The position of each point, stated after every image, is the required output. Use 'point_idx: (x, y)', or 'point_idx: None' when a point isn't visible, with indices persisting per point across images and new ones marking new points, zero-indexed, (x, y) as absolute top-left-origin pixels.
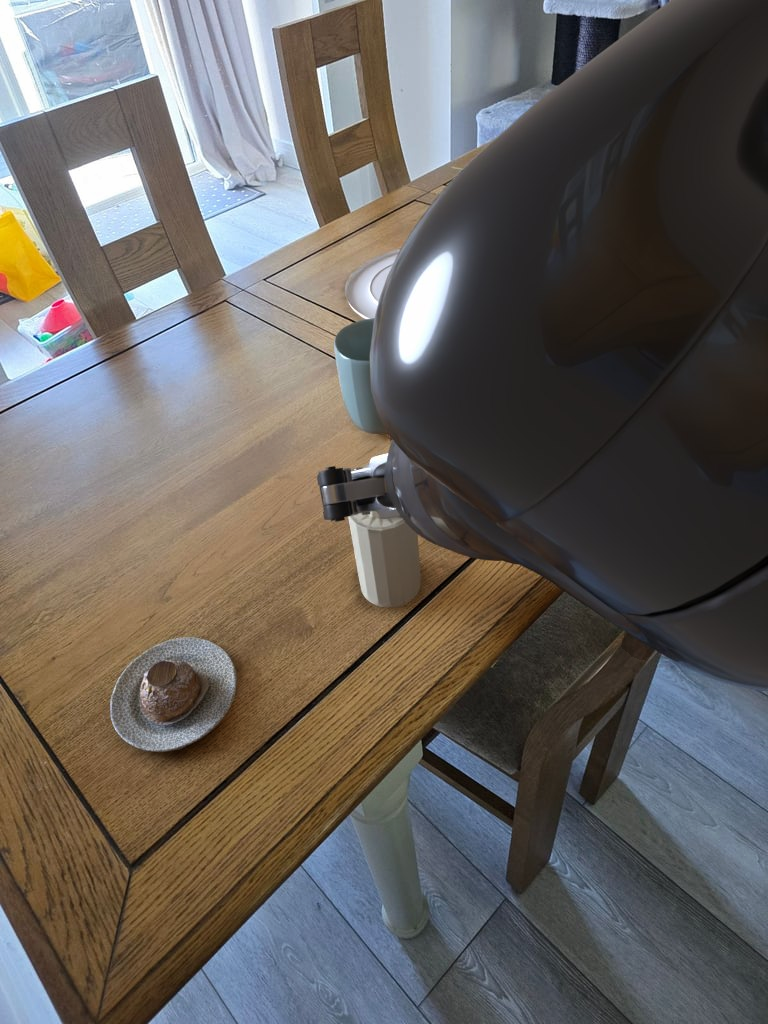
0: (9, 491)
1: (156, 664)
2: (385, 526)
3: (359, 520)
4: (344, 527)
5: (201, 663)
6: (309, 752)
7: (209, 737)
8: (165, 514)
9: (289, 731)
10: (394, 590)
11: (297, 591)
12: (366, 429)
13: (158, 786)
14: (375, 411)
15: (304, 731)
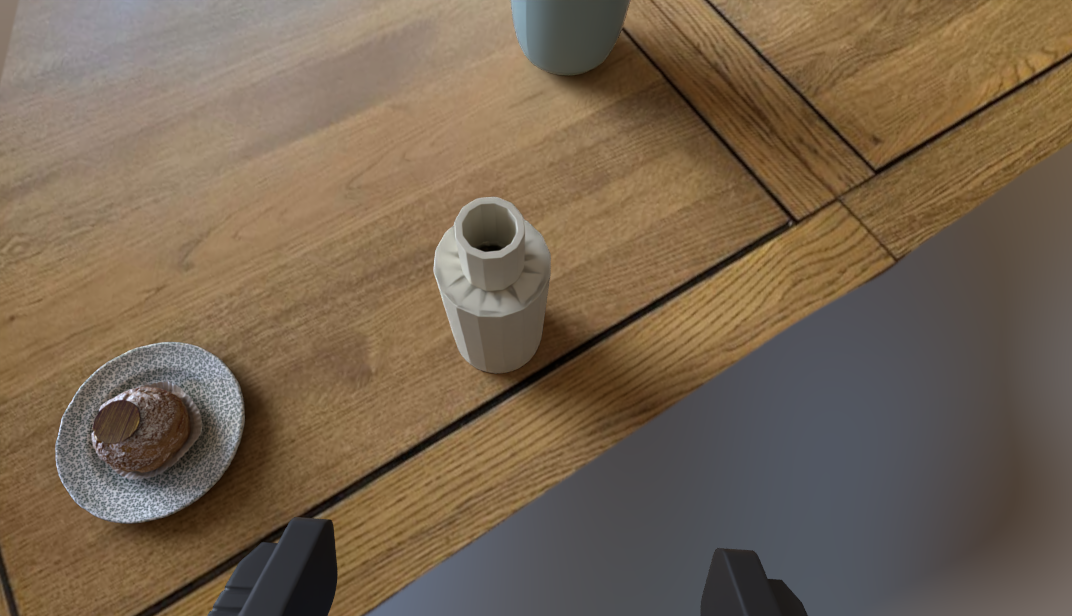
0: (15, 20)
1: (113, 403)
2: (487, 310)
3: (448, 284)
4: None
5: (204, 388)
6: None
7: (187, 508)
8: (220, 122)
9: None
10: (494, 362)
11: (367, 306)
12: (534, 62)
13: (101, 565)
14: (551, 42)
15: None
